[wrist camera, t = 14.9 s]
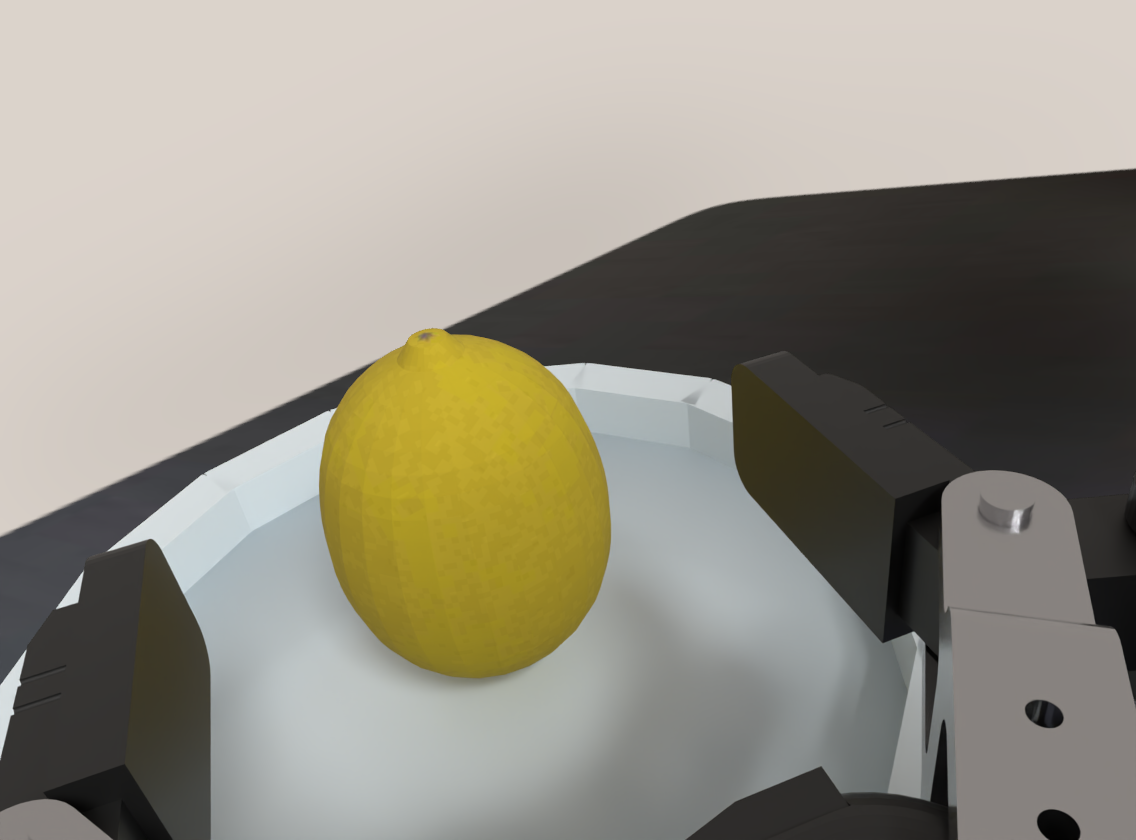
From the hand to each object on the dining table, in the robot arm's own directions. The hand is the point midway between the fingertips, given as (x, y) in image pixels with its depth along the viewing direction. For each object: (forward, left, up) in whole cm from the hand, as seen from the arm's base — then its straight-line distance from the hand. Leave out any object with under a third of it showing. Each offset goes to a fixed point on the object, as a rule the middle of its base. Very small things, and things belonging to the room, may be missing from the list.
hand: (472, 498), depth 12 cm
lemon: (0, -4, -8) cm, 9 cm away
